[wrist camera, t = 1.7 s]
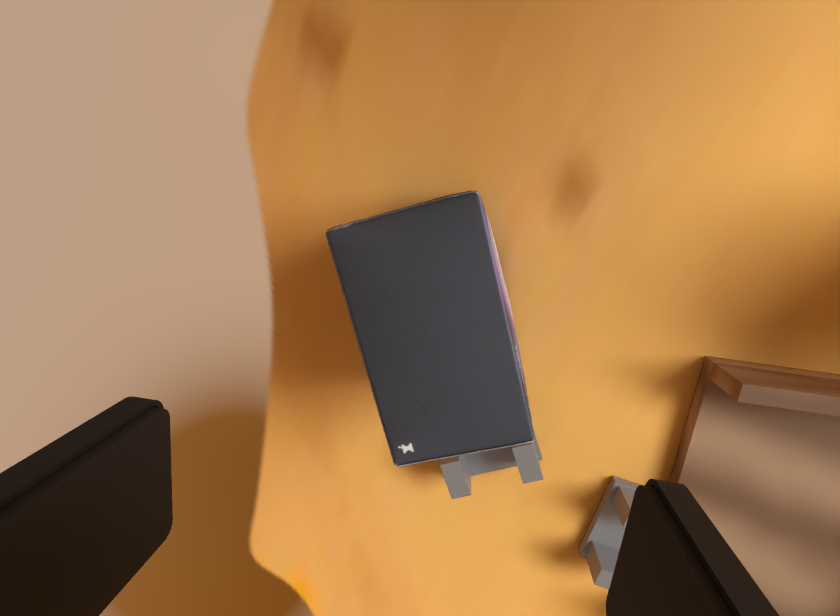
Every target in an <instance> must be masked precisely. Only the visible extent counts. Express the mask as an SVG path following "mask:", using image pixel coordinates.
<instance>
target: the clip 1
mask: <svg viewBox="0 0 840 616" xmlns="http://www.w3.org/2000/svg"><path fill="white" fill-rule="evenodd" d="M533 431H534V430H533ZM540 460H542V456H541V453H540V449H539V446H538V443H537V440H536V436H535V433H534V441H533V442H532V443H527V444H522V445H516V446H511V447H506V448H500V449H494V450H490V451H483V452H477V453H473V454H466V455H460V456H455V457H450V458H445V459H440V468H441V470H442V473H443V476H444V479H445V482H446V484H447V487H448V490H449V493H450V495H451V498H452V499H455V498H460V497H464V496H469V495H471V476H473V475H478V474H482V473H487V472H491V471H496V470H500V469H504V468H509V467H513V466H518V469H519V472H520V475H521V478H522V482H523V484H524V483H529V482H533V481H538V480H543V476H542V471H541V467H540V463H539V461H540Z"/></svg>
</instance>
